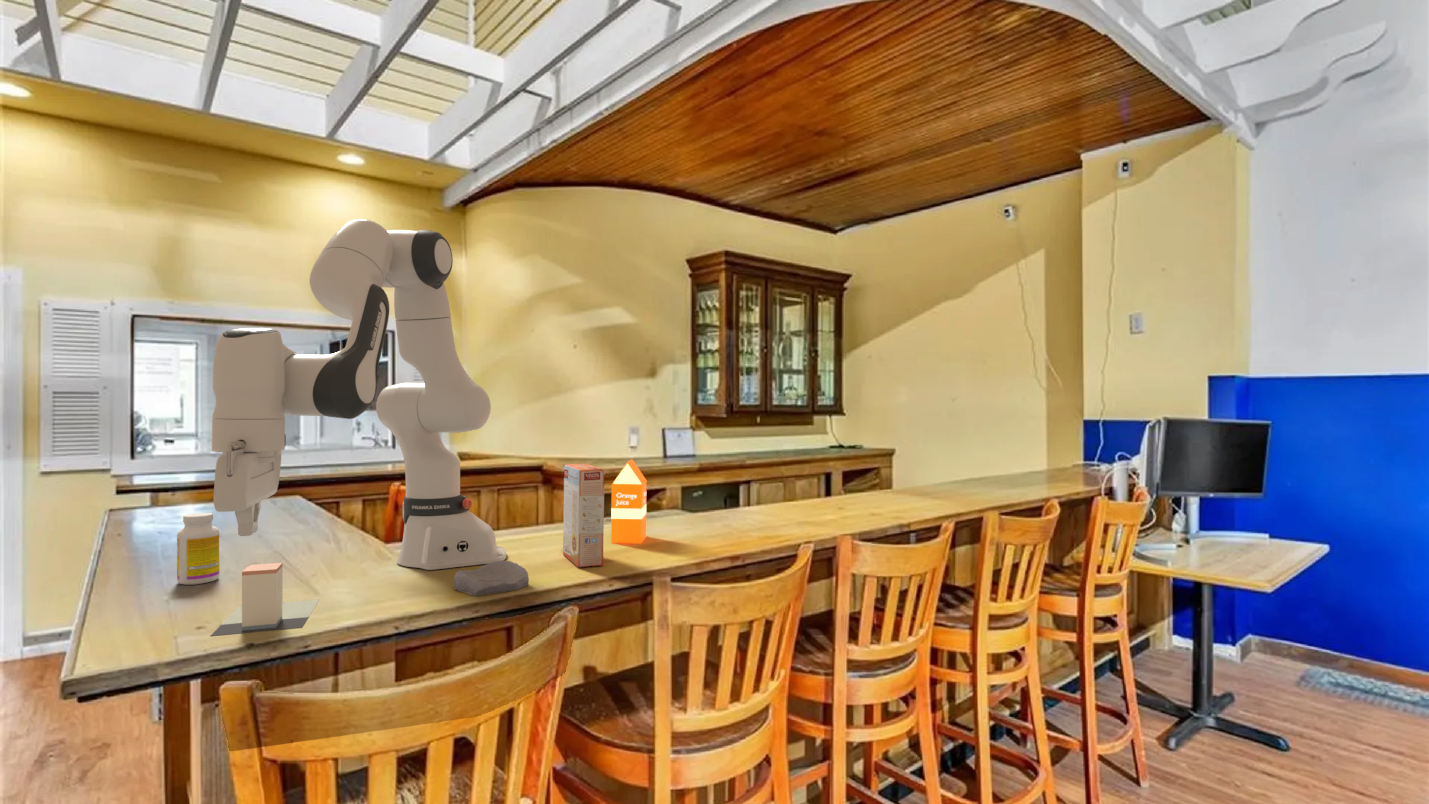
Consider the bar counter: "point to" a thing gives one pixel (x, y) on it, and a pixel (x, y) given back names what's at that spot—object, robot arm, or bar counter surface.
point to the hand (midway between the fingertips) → (247, 534)
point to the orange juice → (628, 506)
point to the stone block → (491, 578)
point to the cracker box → (583, 514)
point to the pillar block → (261, 596)
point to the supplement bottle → (197, 550)
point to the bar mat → (291, 619)
